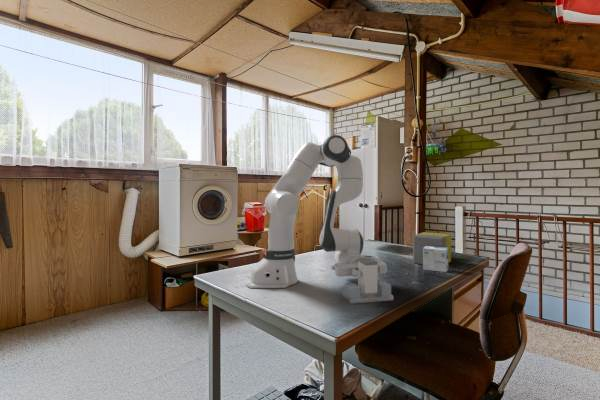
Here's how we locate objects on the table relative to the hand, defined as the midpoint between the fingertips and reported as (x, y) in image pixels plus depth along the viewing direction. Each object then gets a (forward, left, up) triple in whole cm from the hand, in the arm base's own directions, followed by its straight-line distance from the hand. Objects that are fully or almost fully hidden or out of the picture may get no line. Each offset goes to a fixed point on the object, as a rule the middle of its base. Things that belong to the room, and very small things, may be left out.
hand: (368, 274), depth 112 cm
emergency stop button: (+58, +45, -9) cm, 74 cm away
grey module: (0, +1, -6) cm, 6 cm away
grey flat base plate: (0, +1, -9) cm, 9 cm away
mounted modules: (0, +1, -7) cm, 7 cm away
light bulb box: (+48, +30, -9) cm, 57 cm away
